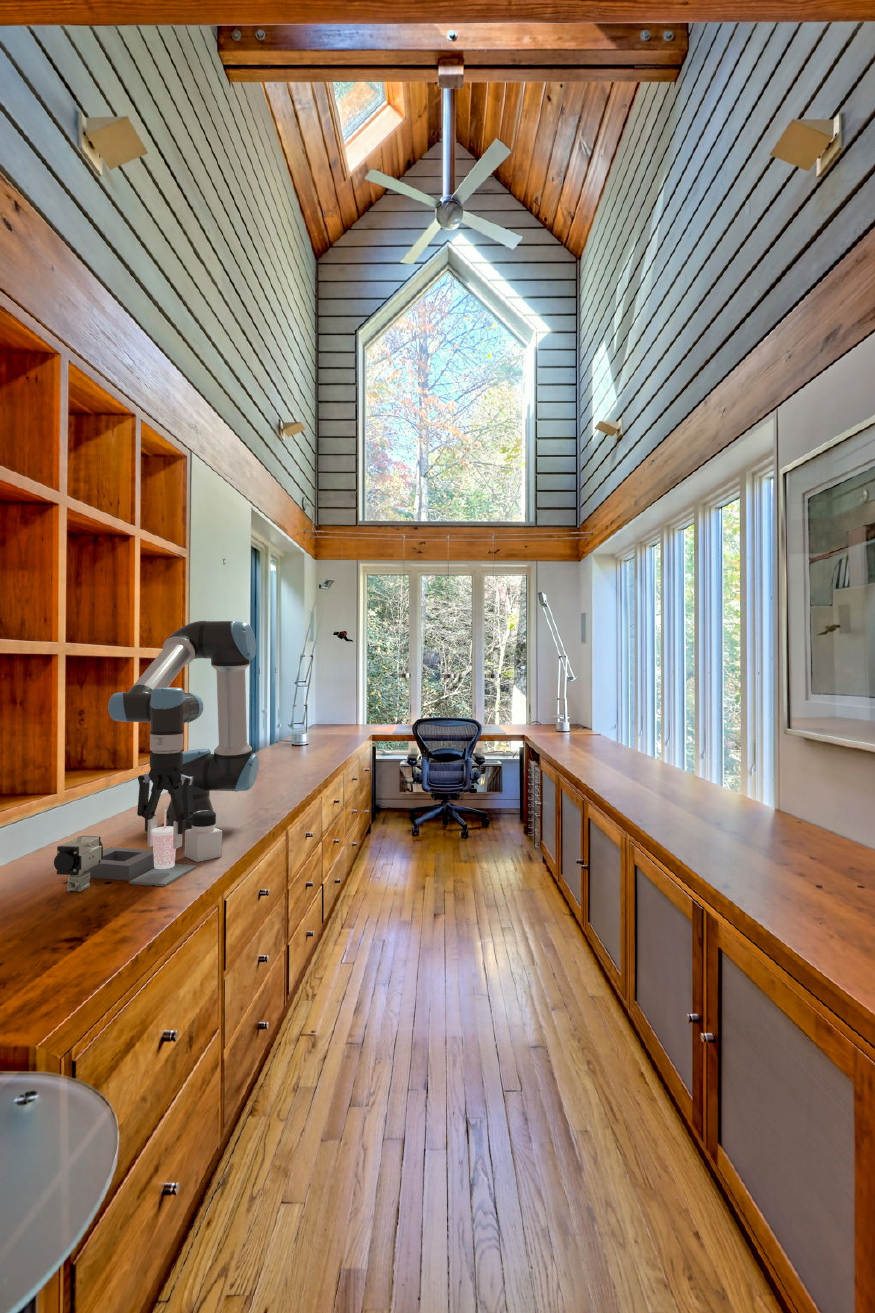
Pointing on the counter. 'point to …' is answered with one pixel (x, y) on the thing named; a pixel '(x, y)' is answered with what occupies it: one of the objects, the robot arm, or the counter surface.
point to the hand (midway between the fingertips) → (164, 846)
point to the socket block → (122, 863)
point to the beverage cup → (163, 846)
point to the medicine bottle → (203, 837)
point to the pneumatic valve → (78, 860)
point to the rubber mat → (162, 875)
